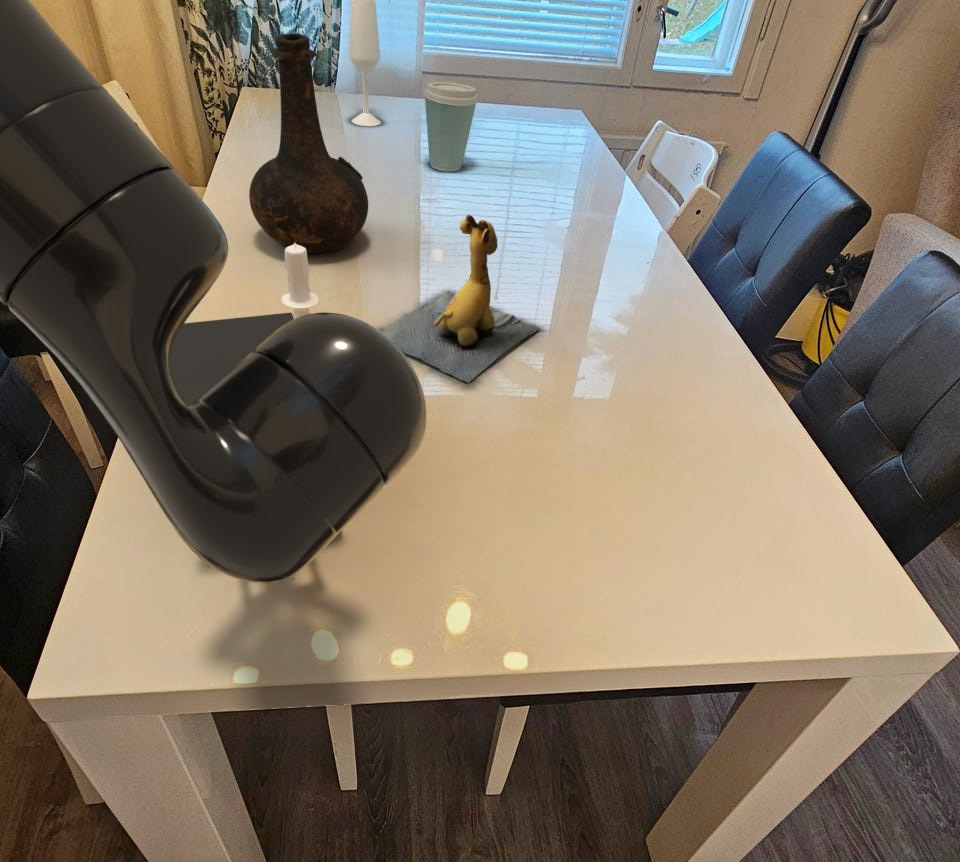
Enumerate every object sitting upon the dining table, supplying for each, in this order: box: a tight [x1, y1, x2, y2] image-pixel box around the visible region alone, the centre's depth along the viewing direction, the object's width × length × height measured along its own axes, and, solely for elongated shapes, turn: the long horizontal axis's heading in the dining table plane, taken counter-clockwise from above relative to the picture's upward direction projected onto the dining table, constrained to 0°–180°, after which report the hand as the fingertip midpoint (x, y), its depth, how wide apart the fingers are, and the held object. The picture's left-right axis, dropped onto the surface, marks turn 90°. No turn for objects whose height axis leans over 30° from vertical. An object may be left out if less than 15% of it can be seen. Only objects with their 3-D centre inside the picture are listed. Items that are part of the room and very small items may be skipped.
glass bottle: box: [248, 32, 369, 254], centre depth 104 cm, size 18×18×28 cm
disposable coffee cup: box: [423, 81, 479, 173], centre depth 140 cm, size 11×11×15 cm
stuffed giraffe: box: [379, 214, 541, 384], centre depth 91 cm, size 16×18×16 cm
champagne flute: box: [348, 0, 382, 127], centre depth 154 cm, size 7×7×24 cm
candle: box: [280, 243, 320, 319], centre depth 89 cm, size 5×5×12 cm
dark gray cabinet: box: [169, 311, 294, 406], centre depth 72 cm, size 16×14×11 cm
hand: (266, 495), depth 59 cm, fingers closed
